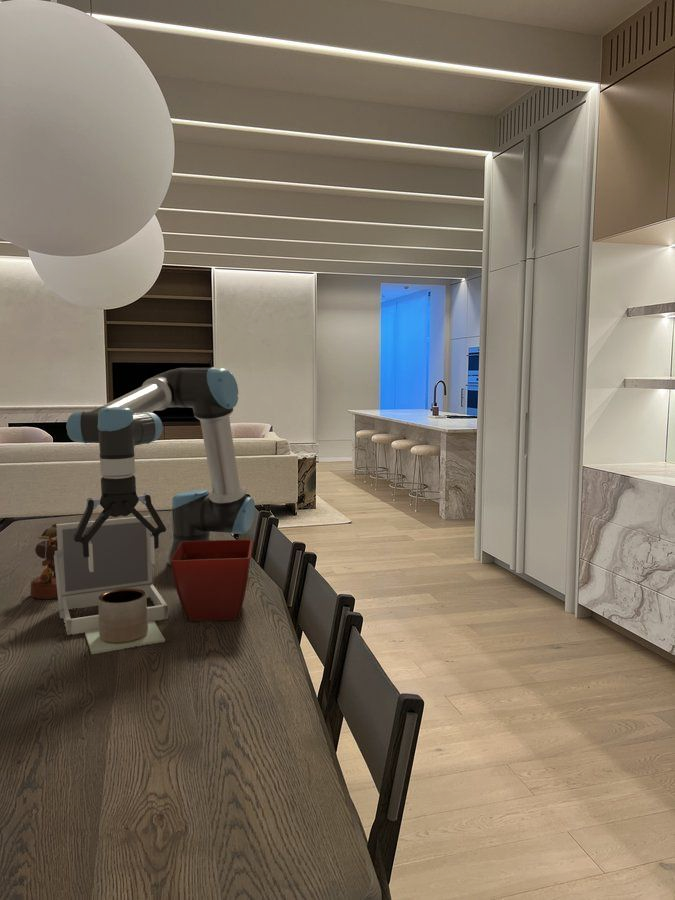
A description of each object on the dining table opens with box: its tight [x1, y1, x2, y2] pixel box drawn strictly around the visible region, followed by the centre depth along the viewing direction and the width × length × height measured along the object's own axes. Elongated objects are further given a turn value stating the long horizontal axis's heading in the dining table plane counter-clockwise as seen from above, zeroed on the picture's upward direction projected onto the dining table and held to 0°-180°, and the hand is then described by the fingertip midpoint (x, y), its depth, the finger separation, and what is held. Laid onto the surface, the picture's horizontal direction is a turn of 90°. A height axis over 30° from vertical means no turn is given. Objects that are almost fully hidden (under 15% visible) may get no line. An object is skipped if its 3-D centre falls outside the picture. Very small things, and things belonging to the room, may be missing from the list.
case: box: [54, 515, 169, 636], centre depth 172 cm, size 25×20×22 cm
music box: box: [30, 522, 58, 600], centre depth 189 cm, size 15×11×20 cm
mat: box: [84, 620, 166, 655], centre depth 158 cm, size 16×13×1 cm
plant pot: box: [170, 539, 253, 622], centre depth 174 cm, size 19×19×17 cm
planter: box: [97, 588, 148, 643], centre depth 158 cm, size 11×11×10 cm
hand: (122, 566), depth 157 cm, fingers open, 13 cm apart
